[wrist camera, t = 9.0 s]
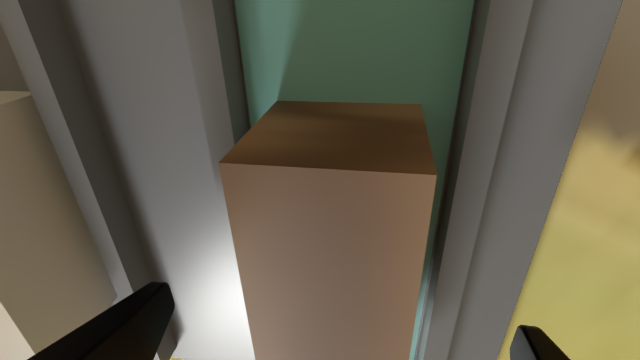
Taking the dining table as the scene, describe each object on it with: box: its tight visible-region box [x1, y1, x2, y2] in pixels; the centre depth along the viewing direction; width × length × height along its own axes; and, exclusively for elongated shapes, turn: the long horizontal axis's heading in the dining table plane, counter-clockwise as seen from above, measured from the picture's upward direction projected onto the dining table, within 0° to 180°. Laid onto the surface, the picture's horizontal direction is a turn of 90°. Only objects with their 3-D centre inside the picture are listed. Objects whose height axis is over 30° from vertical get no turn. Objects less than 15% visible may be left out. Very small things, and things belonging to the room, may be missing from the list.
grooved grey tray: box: [0, 0, 623, 360], centre depth 13 cm, size 24×18×2 cm
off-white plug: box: [0, 91, 118, 360], centre depth 13 cm, size 4×12×4 cm, turn 2°
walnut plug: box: [218, 101, 437, 360], centre depth 11 cm, size 4×12×4 cm, turn 2°
